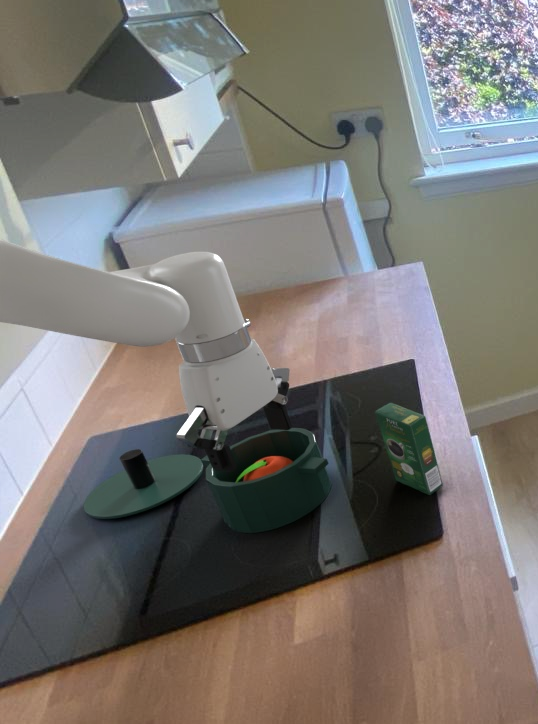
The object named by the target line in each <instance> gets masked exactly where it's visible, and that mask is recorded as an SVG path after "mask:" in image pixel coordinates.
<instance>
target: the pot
mask: <svg viewBox="0 0 538 724" xmlns="http://www.w3.org/2000/svg"><path fill="white" fill-rule="evenodd" d="M229 447H230V449H231V452H232V454H233V457H234V459H235V462H236V464H237V469H236V470H235V471H234V472H227V471H216V470H214V468H213V467H212V466H211V463H210V461H209V458H208V456H207V455H205V456H204V457H202V458H201V459H200V460H201V462H202V464H203V466H207V467H206V468H205V480H206V482H207V484H208V488H209V489H210V491H211V494H212V497H213V498H214V500H215V503H216V505H217V507H218V510H219V511H220V513H221V516H222V518H223V520H224V523H225V524H226V525H227V526H228V527H229V528H230V530H232V531H235V532H237V533H242V534H257V533H263V532H267V531H272V530H275V529H276V530H277V529H279V528H282V527H285V526H287V525H290V524H291V523H293V522H296V521H298V520H299V519H302V518H303V517H306V515H309V513H311V512H312V511H314V510H315V509H316V508H317V507H319V506H320V505H321V504H323V502H324V501H325V500H326V498H327V497H328V495H329V494H330V492H331V489H332V481H331V479H330V475H329V472H328V469H327V466H328V465H329V460H328V458H325V457H324V458H323V454H322V452H321V450H320V446H319V444H318V441H317V439H316V435H315V434H314V433H313V432H312V431H309V430H308V429H306V428H299V427H292V428H291V429H290V430H278V429H271V430H267V431H264V432H262V433H261V432H260V433H258V434H255V435H251V436H249V437H247V438H245V439H243V440H241V441H239V442H236V443H234V444H231V445H229ZM270 456H282V457H286V458H289V459H290V460H292V461H293V463H291V464H289V465H287V466H286V467H284V468H282V469H280V470H278V471H276V472H274V473H272V474H269V475H266V476H263V477H260V478H257V479H254V480H249V481H243V479H244V476H245V475H244V476H243V477H242V478H241V479H240V480H239V481H238V482H236V480H237V478H238V477H239V476H240V475H241V473H242V472H243V471H244V470H246V469H247V468H248V467H250V466H251V465H253V464H254V463H255V462H257V461H259V460H261V459H263V458H265V457H270ZM235 482H236V483H235Z"/></svg>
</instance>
